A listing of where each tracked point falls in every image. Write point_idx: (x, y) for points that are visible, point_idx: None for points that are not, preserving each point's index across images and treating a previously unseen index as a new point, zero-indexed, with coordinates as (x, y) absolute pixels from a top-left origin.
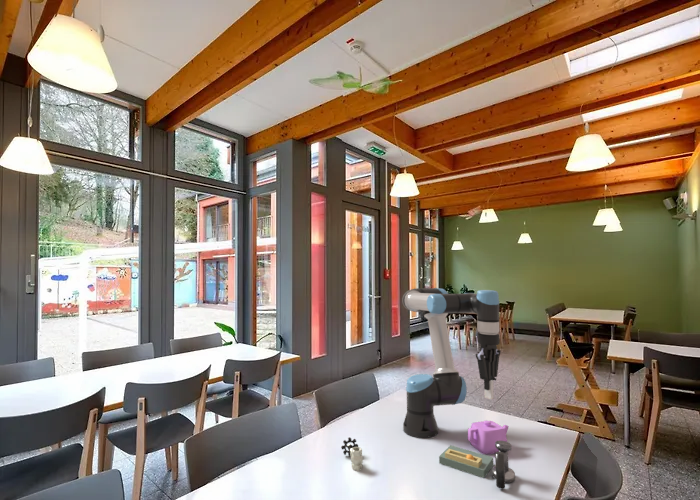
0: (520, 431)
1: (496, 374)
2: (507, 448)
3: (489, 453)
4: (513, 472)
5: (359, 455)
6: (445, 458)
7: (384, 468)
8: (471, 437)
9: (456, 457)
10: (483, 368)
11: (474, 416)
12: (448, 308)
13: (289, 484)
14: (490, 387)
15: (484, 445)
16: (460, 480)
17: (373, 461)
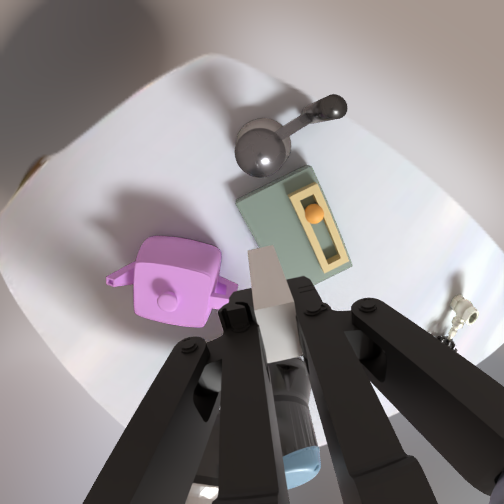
0: (61, 291)
1: (184, 354)
2: (266, 129)
3: (204, 243)
4: (245, 128)
5: (471, 307)
6: (347, 252)
7: (433, 285)
8: (233, 289)
9: (338, 234)
10: (465, 370)
11: (114, 378)
12: None
13: None
14: (285, 281)
15: (216, 254)
16: (359, 185)
17: (429, 311)
